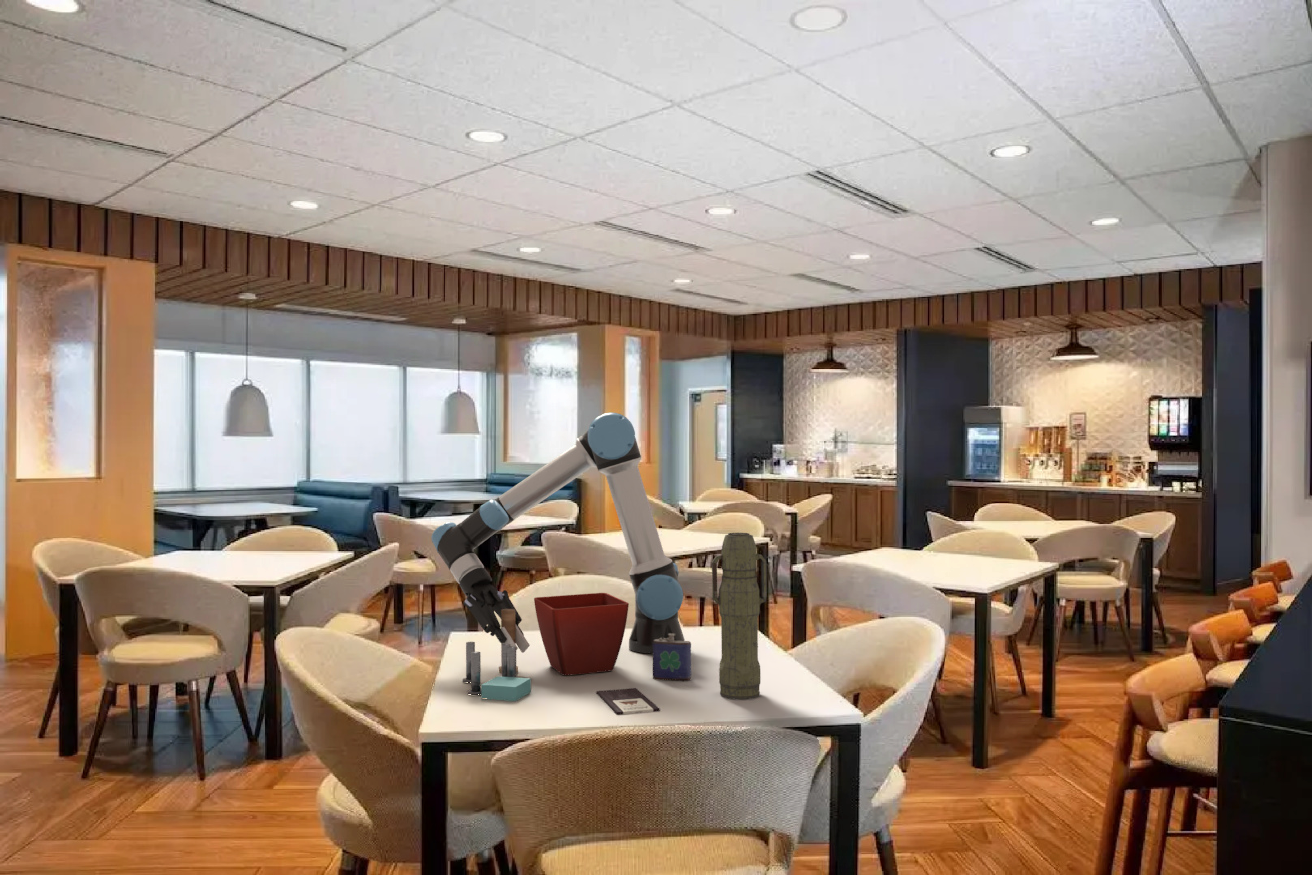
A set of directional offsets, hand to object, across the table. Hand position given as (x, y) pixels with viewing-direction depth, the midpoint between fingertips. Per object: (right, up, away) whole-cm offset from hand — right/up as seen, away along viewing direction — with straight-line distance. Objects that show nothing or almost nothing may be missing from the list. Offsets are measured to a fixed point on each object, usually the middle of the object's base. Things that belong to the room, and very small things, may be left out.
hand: (519, 650), depth 227 cm
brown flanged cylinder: (-3, -6, +2) cm, 7 cm away
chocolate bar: (+26, -6, -26) cm, 37 cm away
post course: (-6, -5, -14) cm, 16 cm away
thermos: (+51, -5, -21) cm, 55 cm away
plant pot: (+14, -6, +5) cm, 16 cm away
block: (0, -5, -20) cm, 21 cm away
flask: (+36, -6, -6) cm, 37 cm away
